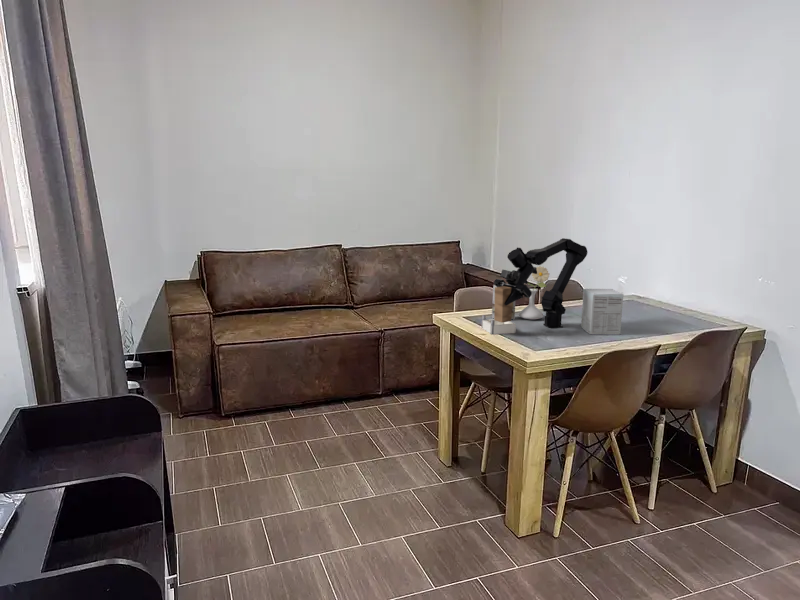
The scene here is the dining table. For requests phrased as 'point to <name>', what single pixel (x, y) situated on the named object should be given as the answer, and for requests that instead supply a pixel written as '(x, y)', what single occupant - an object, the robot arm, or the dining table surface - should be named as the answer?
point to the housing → (497, 326)
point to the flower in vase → (531, 309)
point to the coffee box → (494, 305)
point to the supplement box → (602, 311)
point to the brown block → (502, 304)
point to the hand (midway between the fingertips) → (500, 303)
